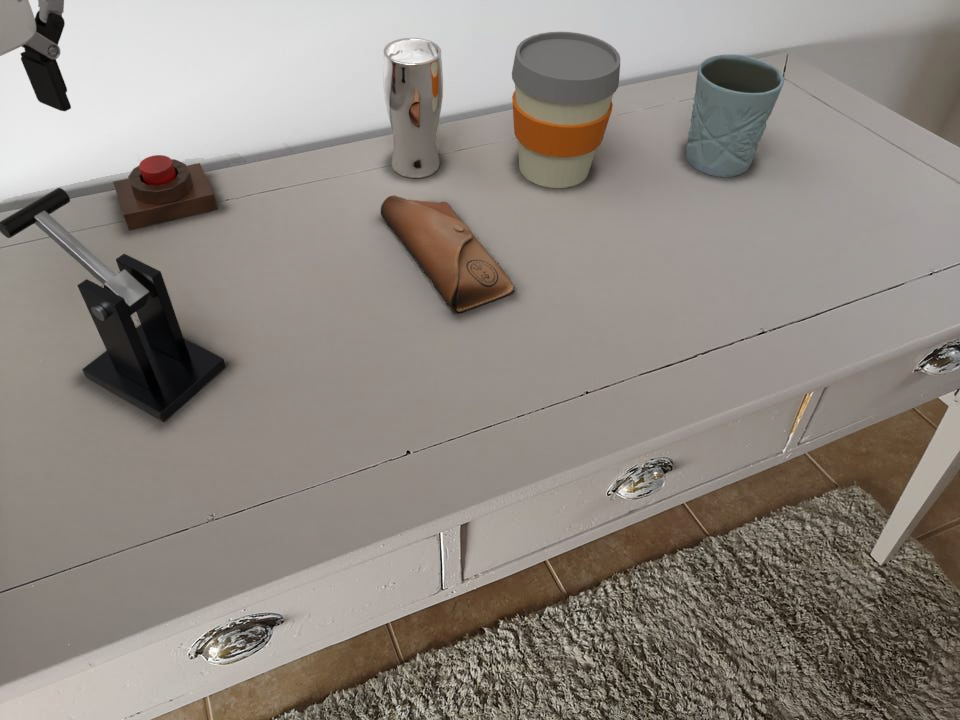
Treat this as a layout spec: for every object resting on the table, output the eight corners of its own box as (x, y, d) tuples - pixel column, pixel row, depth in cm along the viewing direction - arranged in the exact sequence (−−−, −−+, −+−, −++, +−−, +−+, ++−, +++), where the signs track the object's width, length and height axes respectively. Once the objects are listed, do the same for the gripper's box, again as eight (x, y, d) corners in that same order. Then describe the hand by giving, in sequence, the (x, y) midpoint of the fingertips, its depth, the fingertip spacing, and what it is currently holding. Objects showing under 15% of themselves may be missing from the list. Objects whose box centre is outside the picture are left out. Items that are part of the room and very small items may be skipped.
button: (146, 189, 87) (142, 175, 86) (140, 172, 89) (136, 159, 88) (179, 181, 88) (175, 168, 87) (172, 165, 91) (168, 152, 89)
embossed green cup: (768, 177, 100) (799, 90, 91) (695, 184, 98) (720, 96, 90) (734, 135, 107) (760, 50, 98) (665, 141, 105) (686, 56, 96)
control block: (129, 230, 88) (118, 201, 85) (118, 197, 92) (107, 168, 89) (217, 209, 91) (210, 180, 88) (203, 178, 95) (196, 149, 92)
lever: (-3, 232, 64) (-4, 216, 63) (57, 196, 68) (58, 181, 66) (109, 332, 66) (111, 319, 64) (162, 291, 69) (166, 279, 67)
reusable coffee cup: (552, 209, 94) (567, 93, 83) (485, 162, 100) (490, 48, 89) (623, 173, 99) (645, 60, 88) (555, 131, 106) (568, 21, 95)
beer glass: (453, 170, 98) (454, 55, 88) (405, 186, 96) (401, 70, 85) (424, 144, 102) (422, 31, 91) (378, 159, 99) (370, 45, 88)
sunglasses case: (521, 287, 83) (497, 254, 77) (471, 329, 83) (443, 300, 78) (443, 198, 93) (417, 164, 88) (399, 236, 94) (370, 204, 88)
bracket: (85, 377, 73) (38, 283, 64) (150, 327, 78) (114, 232, 69) (163, 422, 70) (124, 329, 61) (226, 366, 74) (198, 273, 66)
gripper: (-27, -162, 53) (62, 74, 66) (-308, -96, 43) (-138, 170, 56) (47, -143, 51) (125, 99, 63) (-231, -67, 41) (-72, 204, 53)
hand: (2, 132), depth 59 cm, fingers open, 9 cm apart
